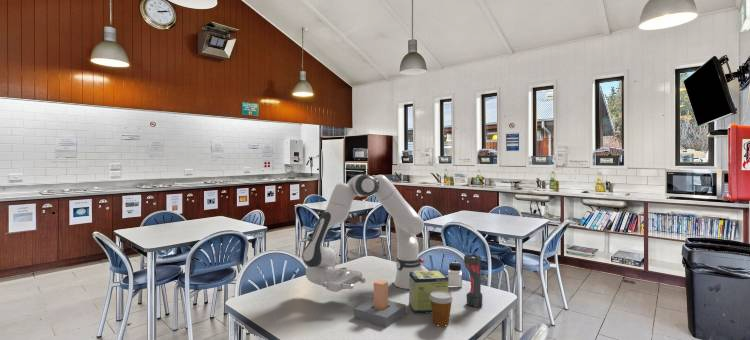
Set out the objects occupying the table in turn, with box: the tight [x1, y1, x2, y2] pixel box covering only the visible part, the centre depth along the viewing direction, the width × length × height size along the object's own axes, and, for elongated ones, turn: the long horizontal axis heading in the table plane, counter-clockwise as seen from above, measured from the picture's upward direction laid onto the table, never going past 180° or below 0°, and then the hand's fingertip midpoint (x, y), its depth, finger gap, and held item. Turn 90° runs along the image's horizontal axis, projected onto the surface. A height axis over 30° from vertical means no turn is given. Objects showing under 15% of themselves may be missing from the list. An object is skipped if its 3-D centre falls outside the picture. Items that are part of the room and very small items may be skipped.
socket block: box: [353, 297, 407, 329], centre depth 160 cm, size 16×16×4 cm
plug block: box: [373, 279, 389, 311], centre depth 160 cm, size 4×4×14 cm
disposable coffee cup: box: [429, 291, 454, 327], centre depth 153 cm, size 10×10×12 cm
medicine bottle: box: [447, 261, 463, 288], centre depth 199 cm, size 7×7×12 cm
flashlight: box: [463, 253, 483, 307], centre depth 173 cm, size 8×8×23 cm
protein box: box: [408, 270, 449, 314], centre depth 168 cm, size 10×16×16 cm
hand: (358, 284), depth 168 cm, fingers open, 8 cm apart
